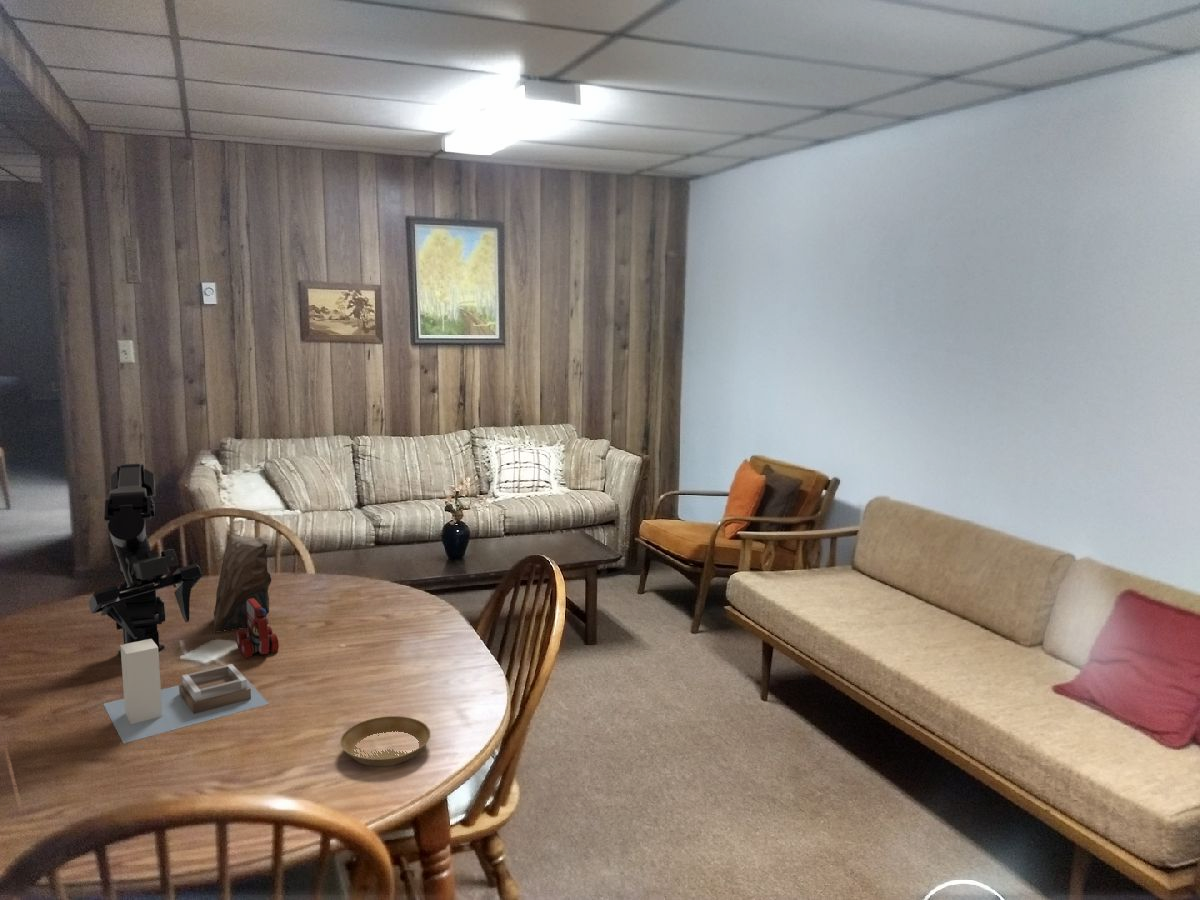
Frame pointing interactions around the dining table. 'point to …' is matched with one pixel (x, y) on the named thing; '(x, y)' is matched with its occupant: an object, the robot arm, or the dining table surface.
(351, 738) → the plant saucer
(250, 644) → the toy fire truck
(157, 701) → the cream post
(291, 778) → the dining table surface
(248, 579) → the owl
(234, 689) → the brown open tray
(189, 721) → the blue-gray board
